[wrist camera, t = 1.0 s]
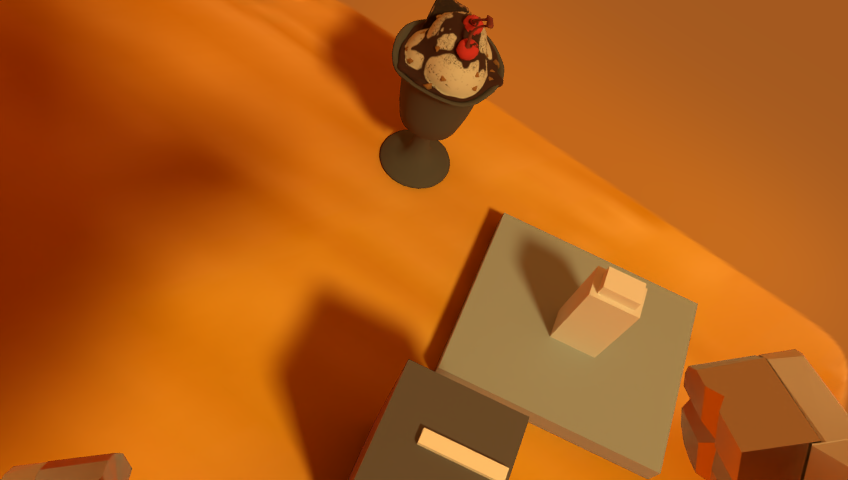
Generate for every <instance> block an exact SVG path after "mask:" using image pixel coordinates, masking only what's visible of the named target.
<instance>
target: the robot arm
mask: <svg viewBox="0 0 848 480" xmlns="http://www.w3.org/2000/svg"><path fill="white" fill-rule="evenodd" d="M684 387H685V389H686V391H687V393H688V395H689V397H690V400H689V401H688V402H687V403H686V404H685V405H684V406H683V407H682V416H681V427H682V434H683V440H684V445H685V448H686V451H687V454H688V457H689V459H690V462H691V464H692V466H693V468H694V470H695V473H697V474H698V475H700V476H701V477H703V478H704V479H706V480H848V414H847V412H846V411H845V410H844V408H843V407H842V406H841V404H840V403H839V402H838V400H837V399H836V398H835V396H834V395H833V394H832V392H831V391H830V390H829V388H828V387H827V386H826V384H825V383H824V382H823V380H822V379H821V378H820V376H819V375H818V374H817V372H816V371H815V370H814V368H813V367H812V366H811V364H810V363H809V362H808V360H807V359H806V358H805V356H804V355H803V354H802V353H801V352H799V351H797V350H796V349H793V350H787V351H781V352H774V353H768V354H762V355H759V356H755V355H754V356H748V357H742V358H736V359H730V360H723V361H717V362H711V363H705V364H699V365H692V366H688V368H687V370H686V372H685V379H684ZM131 470H132V468H131V466H130V464H129V463H128V461H127V459H126V458H125V456H124V454H121V453H111V454H103V455H95V456H87V457H79V458H71V459H63V460H55V461H48V462H43V463H35V464H28V465H20V466H14V467H12V468H11V469H10V470H9V471H8V472H7V473H5V474H4V476H3V477H2V479H1V480H129V477H130V474H131Z"/></svg>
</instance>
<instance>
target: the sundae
mask: <svg viewBox="0 0 848 480" xmlns="http://www.w3.org/2000/svg"><path fill="white" fill-rule="evenodd" d="M482 21H487V25H483V22H482ZM484 27H488V28H493V18H492V17H490V16H489V15H487V18H485V19H481V18H480V17H477V16H476V15H472V14H471V13H469V9H468V8H467V7H466V6H463V5H462V4H460V3H459V2H457V1H455V0H436V1H435V3H434V5H433V7H432V9H431V11H430V13H429V15H428V17H427V19H424V20H418V21H413V22H411V23H409V24H407V25H405V26H404V27H403V28H402V29H401V31H400V32H399V33H398V35H397V36H396V39H395V42H394V45H393V51H392V60H393V66H394V68H395V70H396V72H397V73H398V74H399V76H401V77H402V78H401V88H400V98H399V100H400V116H401V119H402V122H403V124H404V125H405V127H406V128H407V129H409V130H402V131H398V132H396V133H394V134H392V135H391V136H389V137H388V138H387V139H386V140H385V141H384V143H383V144H382V146H381V150H380V160H381V163H382V166H383V168H384V170H385V171H386V172H387V174H388V175H389V176H390V177H391V178H392V179H394V180H395V181H397V182H398V183H400V184H402V185H404V186H408V187H411V188H418V189H419V188H428V187H432V186H434V185H436V184H438V183H440V182H441V181H442V180H443V179H444V178H445V177H446V175H447V173H448V171H449V166H450V160H449V156H448V153H447V151H446V148H445V147H444V146H443V145H442V144H441V143H440V142H439V141H438V140H443V139H446V138H448V137H449V136H451V135H452V134H453V133H454V132H455V131H456V130H457V129H458V127H459V126H460V125H461V124H462V123H463V121H464V120H465V119H466V117H467V116H468V114H469V112H470V111H471V109H472V108H473V106H474V105H475V104H478V103H479V102H481V101H482V100H484V99H486V98H487V97H488V96H489V95H491V94H492V93H493V92H494V91H495V90H496V89H497V88H498V87H500V86H502V84H503V77H504V65H503V62H502V59H501V57H500V55H499V52H498V50H497V48H496V46H495V45H494V44H493V42H492V41H491V39H490V38H489V37H488V36H487V34H486V30H485V28H484Z"/></svg>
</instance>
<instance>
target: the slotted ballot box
mask: <svg viewBox="0 0 848 480" xmlns="http://www.w3.org/2000/svg"><path fill="white" fill-rule="evenodd" d="M528 420H529V416H527V415H524V414H522V413H520V412H518V411H516V410H514V409H512V408H510V407H508V406H506V405H504V404H501V403H499V402H497V401H495V400H493V399H491V398H489V397H487V396H485V395H483V394H480V393H478V392H476V391H474V390H472V389H470V388H468V387H466V386H464V385H462V384H460V383H457V382H455V381H453V380H451V379H449V378H447V377H445V376H443V375H441V374H439V373H437V372H434V371H432V370H430V369H428V368H426V367H424V366H422V365H420V364H418V363H416V362H414V361H411V360H409V359H408V361H407V363H406V365H405V367H404V369H403V370H402V372H401V374H400V376H399V378H398V380H397V381H396V383H395V385H394V387H393V389H392V391H391V392H390V394H389V396H388V398H387V400H386V402H385V403H384V405H383V407H382V409H381V411H380V413H379V414H378V416H377V418H376V420H375V422H374V424H373V426H372V428H371V431H370V433H369V435H368V437H367V439H366V441H365V444H364V446H363V448H362V450H361V452H360V454H359V457H358V459H357V461H356V463H355V465H354V468H353V470H352V472H351V474H350V476H349V478H348V480H509V477H510V474H511V471H512V468H513V465H514V462H515V459H516V456H517V453H518V450H519V447H520V444H521V441H522V438H523V435H524V432H525V429H526V426H527V423H528Z"/></svg>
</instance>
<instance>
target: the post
mask: <svg viewBox="0 0 848 480" xmlns="http://www.w3.org/2000/svg"><path fill="white" fill-rule="evenodd" d="M697 305H698V304H697V303H695V302H693V301H690V300H688V299H686V298H684V297H682V296H680V295H678V294H676V293H673V292H671V291H669V290H667V289H665V288H663V287H661V286H659V285H656V284H654V283H652V282H650V281H648V280H646V279H644V278H642V277H639V276H637V275H635V274H633V273H631V272H629V271H627V270H625V269H623V268H620V267H618V266H616V265H614V264H612V263H610V262H608V261H606V260H603V259H601V258H599V257H597V256H595V255H593V254H591V253H589V252H586V251H584V250H582V249H580V248H578V247H576V246H574V245H572V244H569V243H567V242H565V241H563V240H561V239H559V238H557V237H555V236H553V235H550V234H548V233H546V232H544V231H542V230H540V229H538V228H536V227H533V226H531V225H529V224H527V223H525V222H523V221H521V220H519V219H516V218H514V217H512V216H510V215H508V214H506V213H504V214H503V216H502V218H501V220H500V221H499V223H498V225H497V227H496V229H495V232H494V234H493V236H492V239H491V241H490V243H489V246H488V248H487V250H486V253H485V255H484V257H483V260H482V262H481V264H480V267H479V269H478V272H477V274H476V276H475V279H474V281H473V283H472V286H471V288H470V290H469V293H468V295H467V297H466V300H465V302H464V304H463V307H462V309H461V311H460V314H459V316H458V318H457V321H456V323H455V325H454V328H453V330H452V332H451V335H450V337H449V339H448V342H447V344H446V346H445V349H444V351H443V353H442V356H441V358H440V360H439V363H438V365H437V367H436V370H435V372H437V373H439V374H441V375H443V376H445V377H447V378H449V379H451V380H453V381H455V382H457V383H460V384H462V385H464V386H466V387H468V388H470V389H472V390H474V391H476V392H478V393H480V394H483V395H485V396H487V397H489V398H491V399H493V400H495V401H497V402H499V403H501V404H504V405H506V406H508V407H510V408H512V409H514V410H516V411H518V412H520V413H522V414H524V415H527V416H529V420H528V422H529V423H532V424H534V425H536V426H538V427H540V428H542V429H544V430H546V431H548V432H550V433H552V434H555V435H557V436H559V437H561V438H563V439H565V440H567V441H569V442H571V443H573V444H575V445H578V446H580V447H582V448H584V449H586V450H588V451H590V452H592V453H594V454H596V455H598V456H601V457H603V458H605V459H607V460H609V461H611V462H613V463H615V464H617V465H619V466H622V467H624V468H626V469H628V470H630V471H632V472H634V473H636V474H638V475H640V476H642V477H645V478H647V479H650V478H652V477H654V476H656V475H658V474H660V473H661V468H662V464H663V459H664V455H665V450H666V446H667V441H668V436H669V432H670V427H671V423H672V418H673V414H674V409H675V405H676V400H677V396H678V391H679V387H680V382H681V377H682V373H683V368H684V364H685V359H686V355H687V350H688V346H689V341H690V337H691V332H692V327H693V323H694V318H695V314H696V309H697Z"/></svg>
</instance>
